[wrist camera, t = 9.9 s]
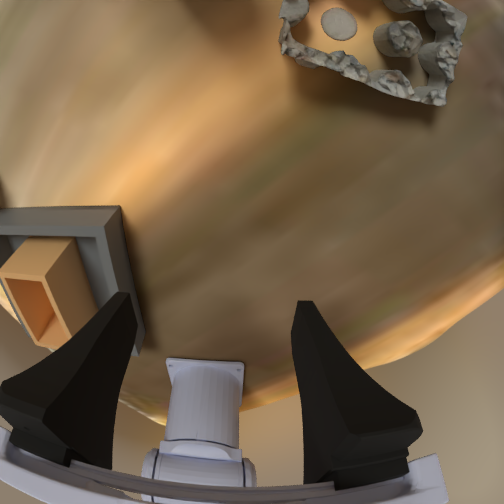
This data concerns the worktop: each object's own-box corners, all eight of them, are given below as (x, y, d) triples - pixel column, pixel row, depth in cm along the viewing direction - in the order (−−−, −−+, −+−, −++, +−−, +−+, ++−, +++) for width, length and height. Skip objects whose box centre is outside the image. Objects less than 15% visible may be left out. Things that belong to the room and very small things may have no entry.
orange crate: (99, 312, 25) (81, 354, 21) (57, 307, 25) (36, 345, 21) (75, 236, 21) (44, 276, 16) (29, 235, 20) (-3, 271, 16)
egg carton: (266, 60, 15) (271, 56, 12) (292, -42, 11) (302, -67, 8) (420, 110, 17) (454, 123, 13) (442, 19, 13) (478, 16, 9)
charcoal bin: (145, 331, 27) (138, 356, 25) (39, 316, 27) (28, 336, 24) (119, 205, 20) (103, 226, 18) (-3, 208, 19) (-22, 225, 17)
